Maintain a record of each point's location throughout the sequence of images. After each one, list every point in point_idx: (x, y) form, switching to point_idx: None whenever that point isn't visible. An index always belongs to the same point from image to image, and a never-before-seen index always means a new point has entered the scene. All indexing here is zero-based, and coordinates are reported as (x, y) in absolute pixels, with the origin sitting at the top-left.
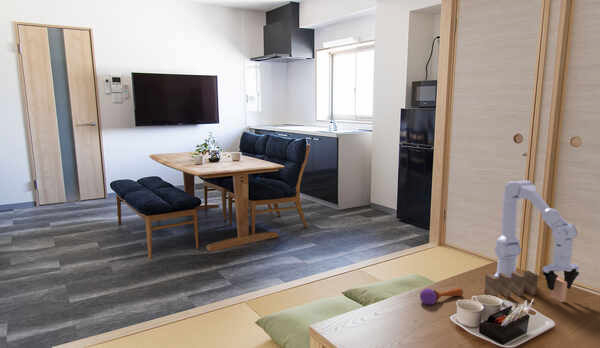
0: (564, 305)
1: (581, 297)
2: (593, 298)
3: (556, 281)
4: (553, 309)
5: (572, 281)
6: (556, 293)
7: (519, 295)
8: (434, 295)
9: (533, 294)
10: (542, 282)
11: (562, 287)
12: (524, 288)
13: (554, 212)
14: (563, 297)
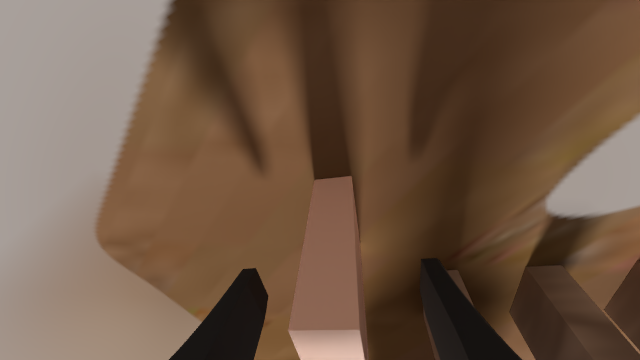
0: (363, 127)
1: (173, 224)
2: (105, 209)
3: (366, 352)
4: (533, 53)
5: (201, 336)
6: (358, 243)
7: (557, 267)
8: None
9: (446, 270)
10: (289, 348)
11: (354, 269)
12: None
13: None
14: (331, 198)
